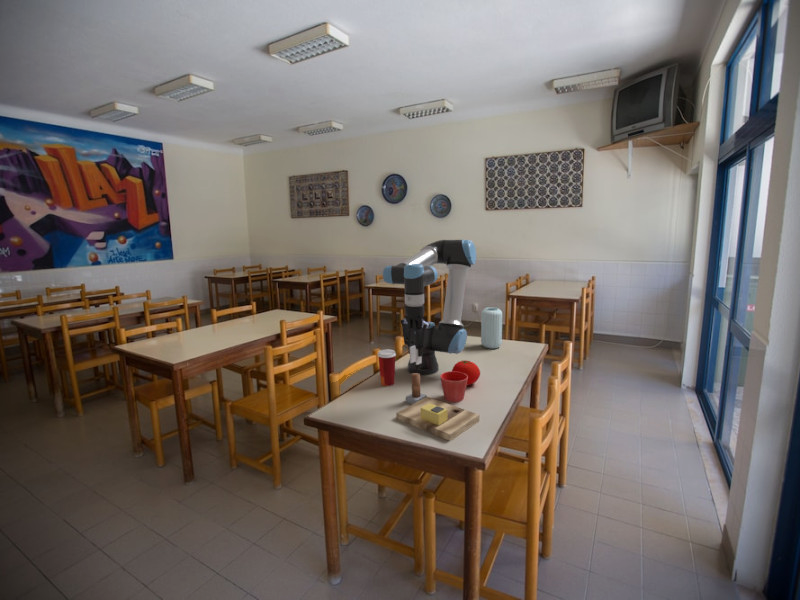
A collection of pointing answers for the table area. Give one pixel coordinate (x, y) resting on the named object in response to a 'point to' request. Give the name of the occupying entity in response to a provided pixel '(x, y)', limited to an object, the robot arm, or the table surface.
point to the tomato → (468, 370)
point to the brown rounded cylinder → (415, 385)
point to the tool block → (414, 400)
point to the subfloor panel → (447, 430)
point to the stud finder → (434, 414)
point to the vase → (491, 327)
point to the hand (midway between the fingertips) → (415, 362)
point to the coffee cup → (387, 366)
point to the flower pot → (454, 385)
